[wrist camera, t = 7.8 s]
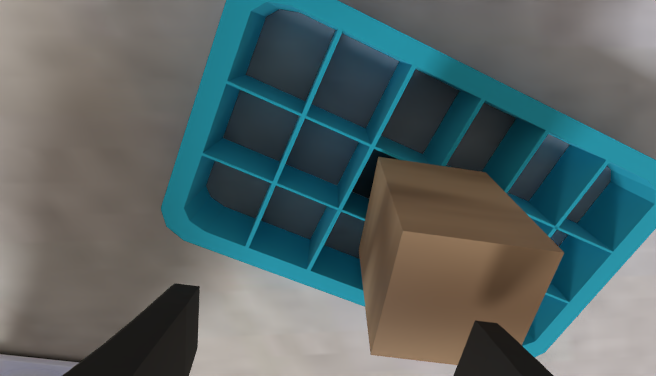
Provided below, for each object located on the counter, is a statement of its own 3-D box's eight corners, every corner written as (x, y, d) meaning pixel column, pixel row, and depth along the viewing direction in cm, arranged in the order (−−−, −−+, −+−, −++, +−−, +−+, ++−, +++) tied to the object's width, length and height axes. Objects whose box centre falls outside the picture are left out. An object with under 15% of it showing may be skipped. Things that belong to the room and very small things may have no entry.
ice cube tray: (507, 326, 23) (531, 367, 21) (177, 200, 20) (154, 229, 17) (645, 157, 19) (698, 181, 16) (256, -37, 16) (241, -48, 13)
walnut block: (455, 262, 18) (509, 371, 13) (358, 249, 18) (370, 354, 12) (485, 172, 16) (564, 252, 11) (378, 156, 16) (402, 230, 11)
